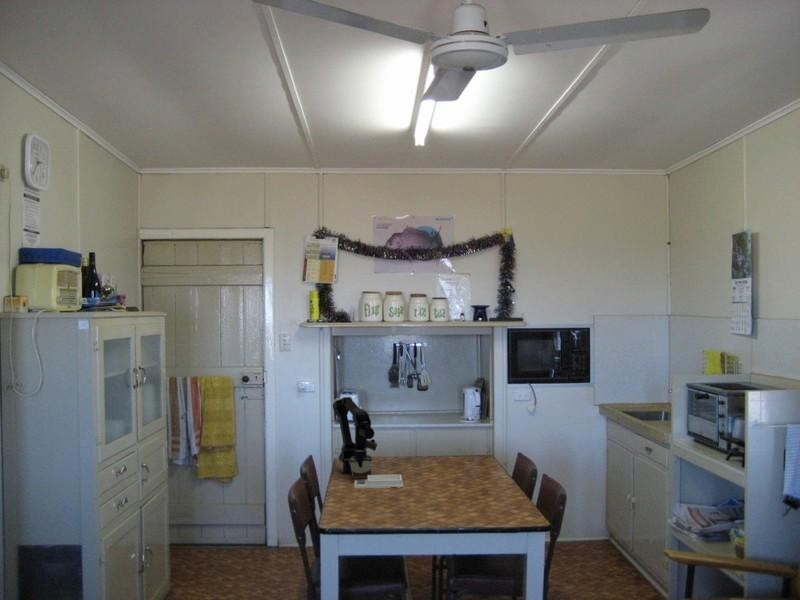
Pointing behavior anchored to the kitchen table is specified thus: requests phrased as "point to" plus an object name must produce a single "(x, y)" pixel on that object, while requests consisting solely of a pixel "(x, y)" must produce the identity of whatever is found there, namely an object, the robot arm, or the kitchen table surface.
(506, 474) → the kitchen table surface
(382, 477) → the dock
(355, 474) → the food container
